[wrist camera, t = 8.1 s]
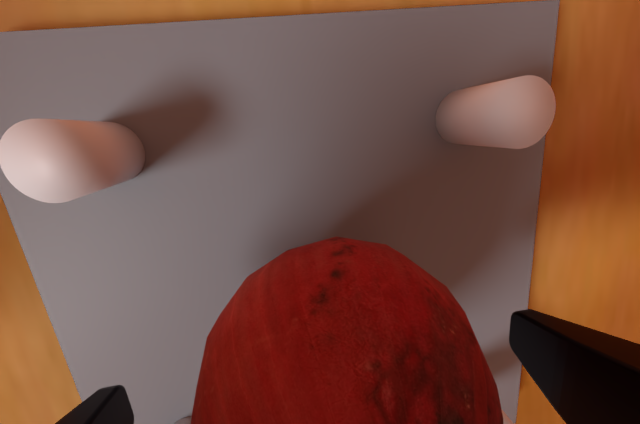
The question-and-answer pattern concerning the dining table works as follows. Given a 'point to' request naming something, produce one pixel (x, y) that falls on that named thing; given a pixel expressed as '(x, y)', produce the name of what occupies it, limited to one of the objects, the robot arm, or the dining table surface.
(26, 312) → the dining table surface
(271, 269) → the onion
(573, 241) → the dining table surface
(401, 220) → the plate
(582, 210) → the dining table surface
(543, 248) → the dining table surface
